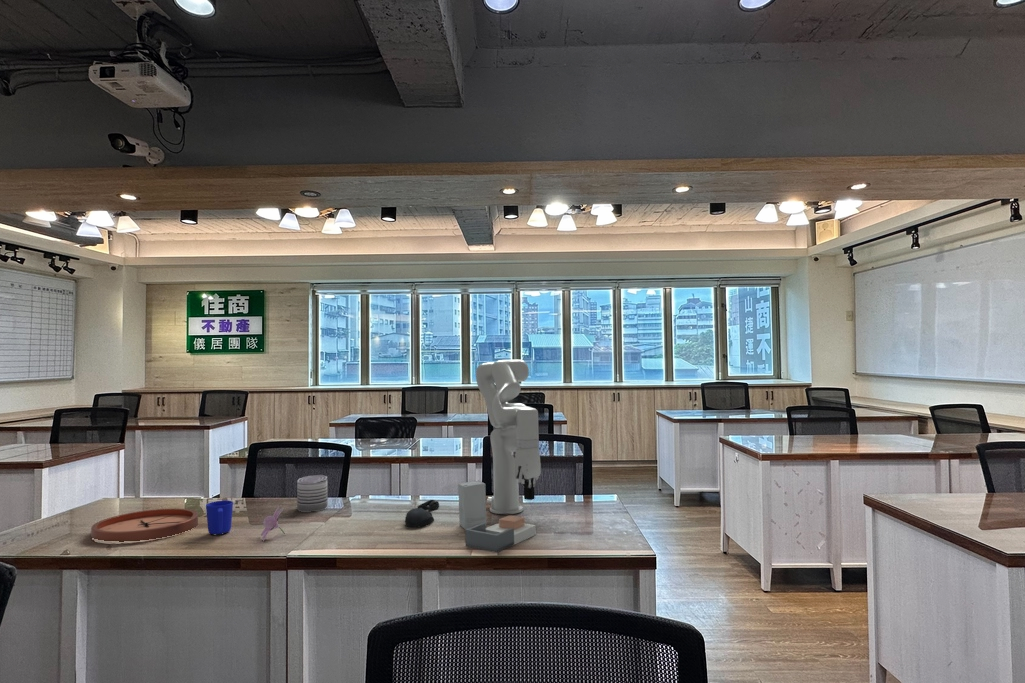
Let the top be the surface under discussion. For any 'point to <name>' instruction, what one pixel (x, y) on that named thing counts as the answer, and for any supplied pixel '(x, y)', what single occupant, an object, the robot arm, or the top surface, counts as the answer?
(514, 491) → the robot arm
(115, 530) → the clock
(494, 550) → the bin
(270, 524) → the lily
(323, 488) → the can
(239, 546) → the top surface
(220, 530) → the mug
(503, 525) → the tile
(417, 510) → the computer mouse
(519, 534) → the plate
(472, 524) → the skincare box
